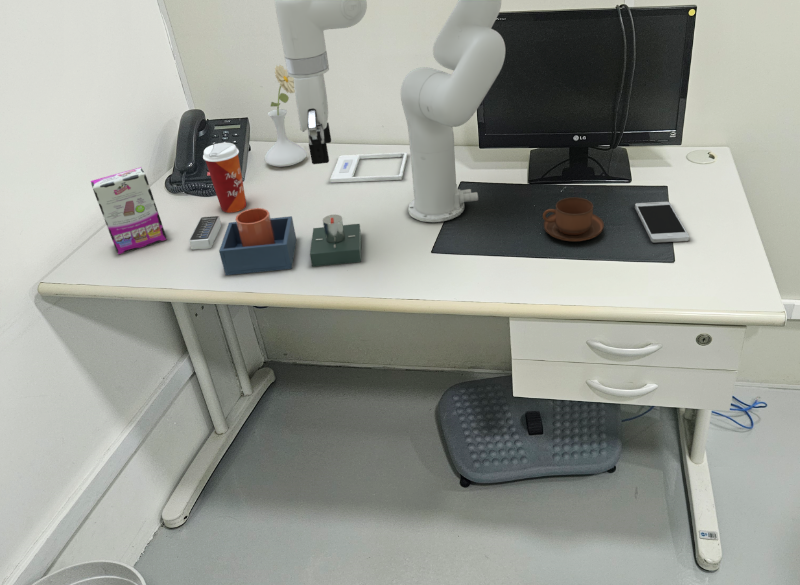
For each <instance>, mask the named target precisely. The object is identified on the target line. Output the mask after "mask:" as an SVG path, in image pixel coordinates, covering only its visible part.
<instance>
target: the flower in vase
mask: <svg viewBox="0 0 800 585" xmlns="http://www.w3.org/2000/svg"><path fill="white" fill-rule="evenodd" d="M274 70H275V71H274V74H275V79H276V81H277V83H279V88H278V94H277V102H274V101H271V102H270V107H277V108H276V109H273V110H270V111H268V113H267V116H268V117H270V119H271V120H272V121H273V123H274V127H275V130H276V135H277V139H276V141H275V143H274V144H273V145H272V146H271V147H270V148H269V149H268V150H267V152H266V153H265V155H264V161H265V163H266V164H267V165H269V166H272V167H283V168H284V167H291V166H295V165H297V164H298V163H301V162H303V161H304V160H305V159H306V157H307V155H308V152H307V150H306V148H304V147H303V146H301V145H300V144H299V143H296V142H295V141H293V140H291V139H289V137H288V136H287V132H286V127H285V119H286V115H287V113H288V110H287V109H285V108H280V105H281V103H280V101H281V102H282V103H283V104H286V103H288V101H289V100H290V99H289V98H290V97H289V96H288V93H289V94H295V88H294V78H293V77H290V76H288V73H287V68H286V69H285V68H284V66H283V65H281V64H279V65H277V64H276V65H275V67H274ZM282 89H283V91H285V92H286V93H283V92H281V90H282Z"/></svg>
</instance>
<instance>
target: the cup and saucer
mask: <svg viewBox="0 0 800 585" xmlns="http://www.w3.org/2000/svg"><path fill="white" fill-rule="evenodd" d="M549 213H552V214H550V215H548V216H547V214H549ZM542 220H544V221H543V228H544V231H545V232H546V233H547V234H549V235H550V236H551V237H553V238H555V239H556V240H560V241H564V242H569V243H570V242H574V243H575V242H584V241H589V240H592V239H594V238H596V237H598V236H599V235H600V234H601V233H602V232H603V230H604V227H605V223H604V221H603V219H602V218H600V217H599V216H598V215H596V214H594V204H593V202H592V201H591V200H588V199H587V198H583V197H565V198H562V199H560V200H558V201H557V202H556V204H555V209H554V208H548V209H546V210H545V211H544V212H543V213H542Z"/></svg>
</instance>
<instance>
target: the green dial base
mask: <svg viewBox="0 0 800 585" xmlns="http://www.w3.org/2000/svg"><path fill="white" fill-rule="evenodd" d="M343 227H344V234H345V238H344V240H342V241H340V242H337V243H330V242H327V241H326V237H325V232H324V226H322V227H313V229H312V234H311V242H310V250H309V257H310V262H311V267H312V268H313V267H323V266H332V265H342V264H343V265H344V264H352V263H355V264H356V263H361V262H362V232H361V224H360V223H352V224H343Z"/></svg>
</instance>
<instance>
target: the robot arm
mask: <svg viewBox="0 0 800 585" xmlns="http://www.w3.org/2000/svg"><path fill="white" fill-rule="evenodd" d="M274 7H275V13H276V19H277V24H278V28H279V34H280V39H281V45H282V50H283V55H284V62H285V67H286V69H287V73H288V76H290V77H293V78H294V81H293V82H294V90H295V93H294V95H295V102H296V109H297V115H298V122H299V130H300V131H301V132H302V133H303V132H305V131H307V136H308V148H309V154H310V155H309V156H310V159H311V164H312V165H320V164H322V165H323V164H328V163H329V162H330V158H329V157H330V156H329V152H328V151H329V150H328V145H327V144H331V142H332V137H331V129H330V124H329V122H328V119H329V104H328V96H327V87H326V82H325V75H324V74H326V73H327V72H329V71H330V65H329V60H328V53H327V47H326V40H325V31H327V30H337V29H338V30H339V29H346V28H352V27H353V26H356V25H358V24H359V23H360V22H361V21H362V20H363V18H364V17H365V15H366V12H367V8H368V1H367V0H274ZM501 9H502V0H458V1H457V2H456V5H455V6H454V8H453V9H452V11H451V13H450V14H449V16H448V18H447V19H446V21H445V23H444V24H443V25H442V28H441V29H440V31H439V33H438V34H437V36H436V38H435V40H434V43H433V47H432V55H433V58H434V61H435V62H436V63H437V64H439V65H440V66H442V67H443V68H445V69H447V70H451V71H453V72H452V73H451V74H450V73H448V72H446V71H442V70H439V69H436V68H432V67H427V66H426V67H425V66H422V67H417V68H414V69H412V70H410V71H409V72H408V73H407V74H406V75H405V77H404V78H403V80H402V82H401V86H400V100H401V105H402V110H403V113H404V117H405V120H406V125H407V126H406V127H407V133H408V141H409V155H410V156H409V157H410V165H411V177H412V187H413V200H412V201H410V202H409V204H408V207H407V209H408V215H409V216H410V217H412V218H413V219H415V220H417V221H419V222H426V223H441V222H446V221H450V220H453V219H455V218H458V217H459V216H461V214H462V213H463V212H464V211H465V203H466V202H478V201H479V194H478V192H477V191H475V192H472V189H470V188H467V189H460V188H458V184H457V173H456V155H455V153H456V152H455V134H454V128H457V127H460V126H463V125H464V124H466V123H467V122H468V121H470V120H471V118H472V117H473V116H474V115H475V113H476V112H477V110H478V109H479V107H480V105H481V104H482V102H483V101H484V99H485V97H486V96H487V95H488V93H489V91H490V89H491V87H493V85H494V82H496V80H497V77H498V76H499V74H500V72H501V71H502V68H503V66H504V62H505V59H506V44H505V41H504V38H503V36H502V35H501V34H500V33H499V32H498V31H497V30H495V29H493V28H492V27H493V26H494V24H495V22H496V20H497V17H498V16H499V14H500V11H501Z"/></svg>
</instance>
